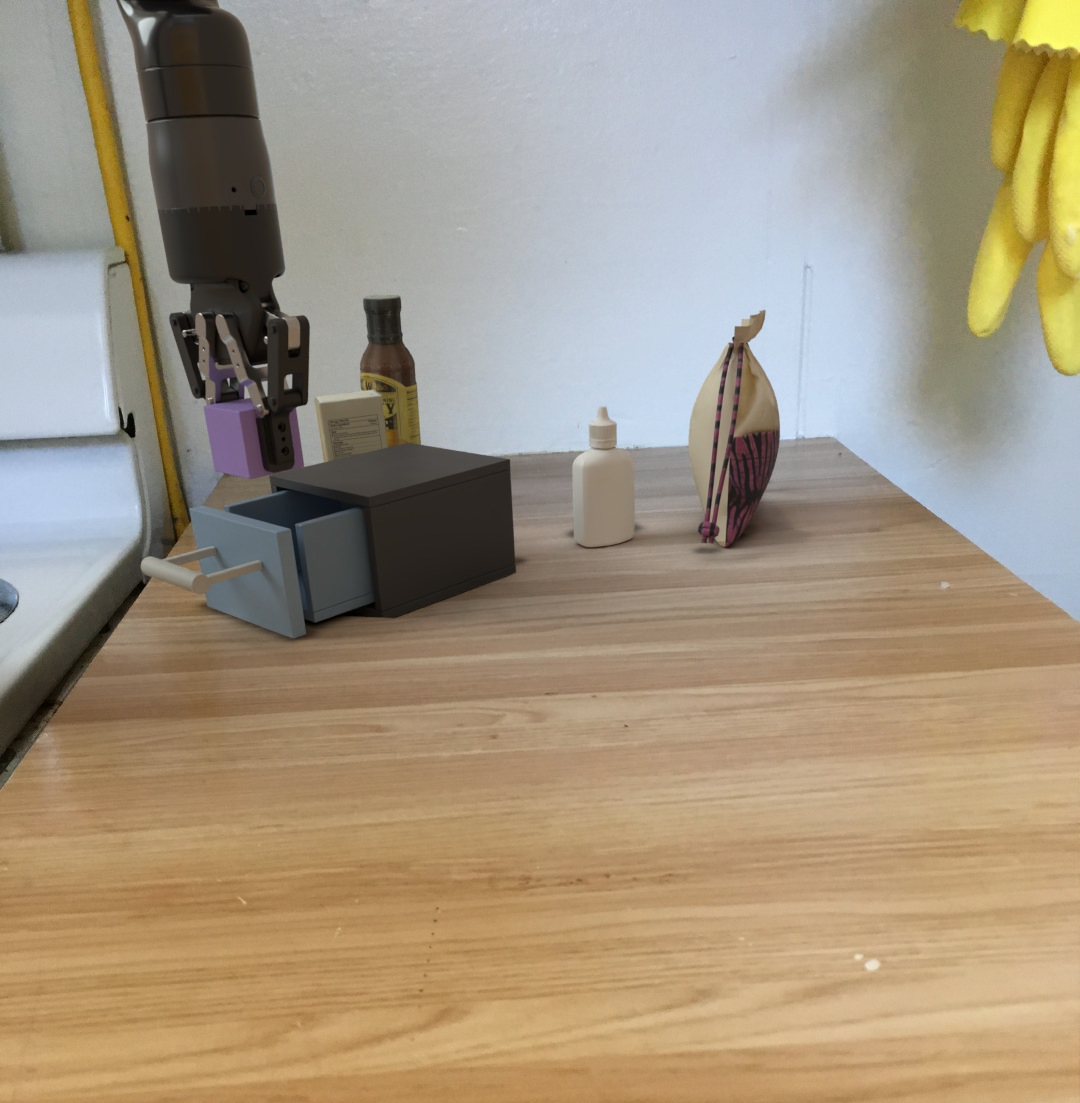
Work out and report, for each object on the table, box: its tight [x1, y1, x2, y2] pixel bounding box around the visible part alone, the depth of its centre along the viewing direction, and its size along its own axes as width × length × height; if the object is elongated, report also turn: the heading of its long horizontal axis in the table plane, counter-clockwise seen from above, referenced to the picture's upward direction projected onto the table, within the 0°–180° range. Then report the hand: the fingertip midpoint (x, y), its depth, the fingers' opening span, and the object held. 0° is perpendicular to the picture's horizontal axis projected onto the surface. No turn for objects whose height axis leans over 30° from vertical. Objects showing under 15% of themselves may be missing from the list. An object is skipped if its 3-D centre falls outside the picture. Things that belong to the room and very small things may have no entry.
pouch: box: [688, 309, 781, 548], centre depth 97 cm, size 25×8×19 cm, turn 168°
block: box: [203, 397, 305, 480], centre depth 75 cm, size 5×5×5 cm
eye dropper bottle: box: [571, 405, 636, 548], centre depth 95 cm, size 4×6×12 cm
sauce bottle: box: [359, 294, 422, 447], centre depth 118 cm, size 6×6×20 cm
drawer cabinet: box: [268, 443, 517, 619], centre depth 87 cm, size 15×13×10 cm
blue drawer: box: [140, 489, 375, 640], centre depth 80 cm, size 19×11×8 cm, turn 137°
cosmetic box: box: [313, 390, 388, 463], centre depth 106 cm, size 6×4×12 cm
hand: (258, 464), depth 76 cm, fingers closed on block, 4 cm apart
